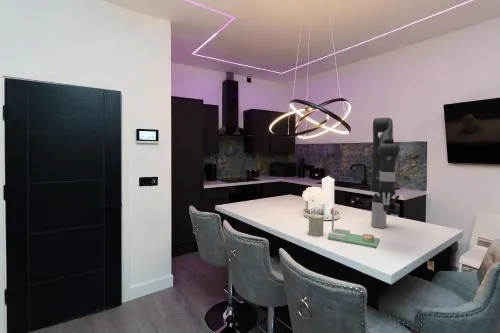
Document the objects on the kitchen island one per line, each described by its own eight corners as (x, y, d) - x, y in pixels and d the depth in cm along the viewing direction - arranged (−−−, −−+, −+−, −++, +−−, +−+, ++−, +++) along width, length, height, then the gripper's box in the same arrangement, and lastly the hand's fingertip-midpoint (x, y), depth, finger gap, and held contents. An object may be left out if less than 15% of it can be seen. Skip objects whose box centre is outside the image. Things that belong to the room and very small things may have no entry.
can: (305, 232, 169) (305, 214, 169) (317, 231, 172) (318, 213, 172) (313, 237, 161) (314, 217, 160) (326, 235, 164) (327, 216, 163)
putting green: (334, 232, 170) (334, 230, 170) (379, 239, 156) (379, 238, 156) (327, 239, 157) (327, 237, 157) (375, 248, 143) (375, 246, 143)
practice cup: (334, 231, 169) (334, 205, 168) (349, 234, 164) (350, 207, 163) (328, 236, 158) (329, 209, 157) (344, 239, 153) (345, 211, 152)
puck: (363, 238, 156) (363, 233, 156) (374, 240, 153) (374, 234, 153) (361, 240, 151) (361, 235, 151) (373, 242, 148) (373, 237, 148)
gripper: (401, 180, 145) (400, 211, 146) (375, 178, 152) (373, 208, 153) (400, 181, 139) (399, 214, 140) (373, 179, 146) (372, 211, 147)
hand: (386, 211), depth 147 cm, fingers closed
